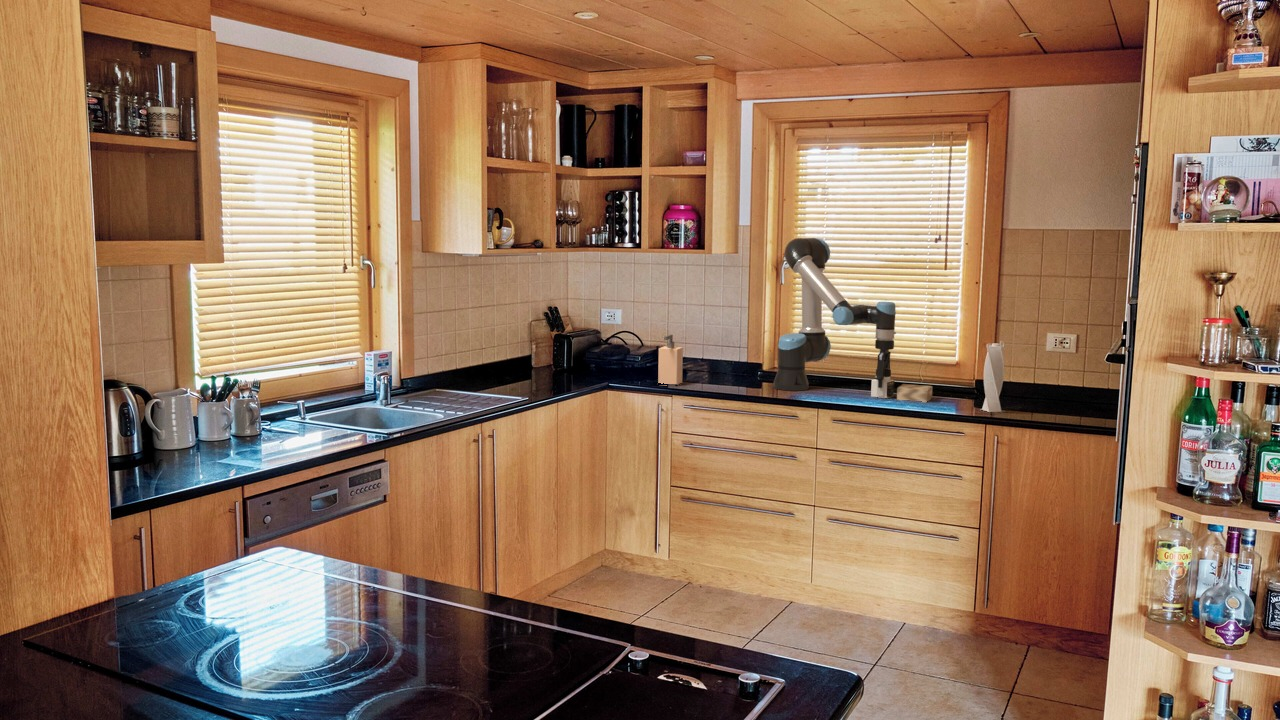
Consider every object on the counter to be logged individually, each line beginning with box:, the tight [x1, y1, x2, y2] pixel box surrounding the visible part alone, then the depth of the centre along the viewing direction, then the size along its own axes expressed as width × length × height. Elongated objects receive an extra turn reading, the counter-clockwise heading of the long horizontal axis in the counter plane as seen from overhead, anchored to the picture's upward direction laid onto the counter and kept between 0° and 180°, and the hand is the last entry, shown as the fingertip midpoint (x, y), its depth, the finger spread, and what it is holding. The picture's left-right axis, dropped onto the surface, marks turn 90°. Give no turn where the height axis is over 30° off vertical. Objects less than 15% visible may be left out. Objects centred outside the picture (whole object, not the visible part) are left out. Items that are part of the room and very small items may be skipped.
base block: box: [896, 383, 934, 403], centre depth 412 cm, size 12×12×5 cm
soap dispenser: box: [657, 334, 684, 384], centre depth 440 cm, size 13×9×22 cm
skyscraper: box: [979, 340, 1006, 413], centre depth 384 cm, size 8×8×28 cm
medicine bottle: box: [870, 368, 895, 399], centre depth 416 cm, size 7×7×12 cm
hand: (882, 393), depth 417 cm, fingers closed on medicine bottle, 8 cm apart
